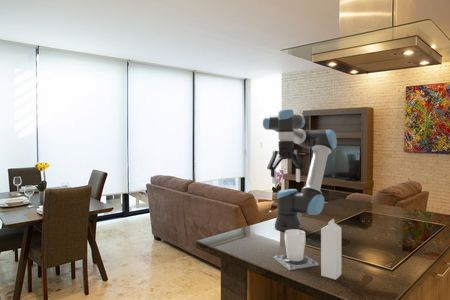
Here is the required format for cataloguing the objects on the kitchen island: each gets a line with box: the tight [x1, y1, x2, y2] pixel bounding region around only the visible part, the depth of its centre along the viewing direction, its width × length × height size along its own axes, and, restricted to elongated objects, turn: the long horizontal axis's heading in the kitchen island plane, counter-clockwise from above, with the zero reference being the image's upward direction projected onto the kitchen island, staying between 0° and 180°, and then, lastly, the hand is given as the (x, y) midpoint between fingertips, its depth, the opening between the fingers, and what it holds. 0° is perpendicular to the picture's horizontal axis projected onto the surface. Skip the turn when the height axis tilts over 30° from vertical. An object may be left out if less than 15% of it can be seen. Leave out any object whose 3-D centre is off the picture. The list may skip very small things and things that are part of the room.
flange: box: [273, 253, 319, 271], centre depth 142 cm, size 14×14×2 cm
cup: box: [284, 229, 307, 262], centre depth 142 cm, size 9×9×12 cm
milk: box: [320, 218, 342, 281], centre depth 127 cm, size 6×6×22 cm
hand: (286, 182), depth 163 cm, fingers open, 13 cm apart
